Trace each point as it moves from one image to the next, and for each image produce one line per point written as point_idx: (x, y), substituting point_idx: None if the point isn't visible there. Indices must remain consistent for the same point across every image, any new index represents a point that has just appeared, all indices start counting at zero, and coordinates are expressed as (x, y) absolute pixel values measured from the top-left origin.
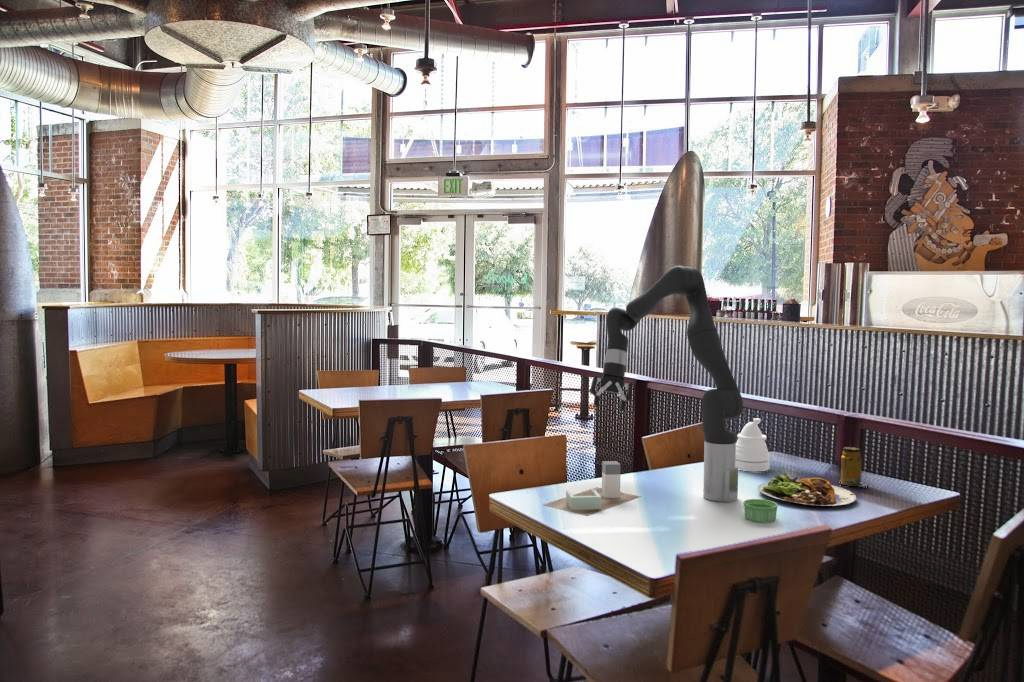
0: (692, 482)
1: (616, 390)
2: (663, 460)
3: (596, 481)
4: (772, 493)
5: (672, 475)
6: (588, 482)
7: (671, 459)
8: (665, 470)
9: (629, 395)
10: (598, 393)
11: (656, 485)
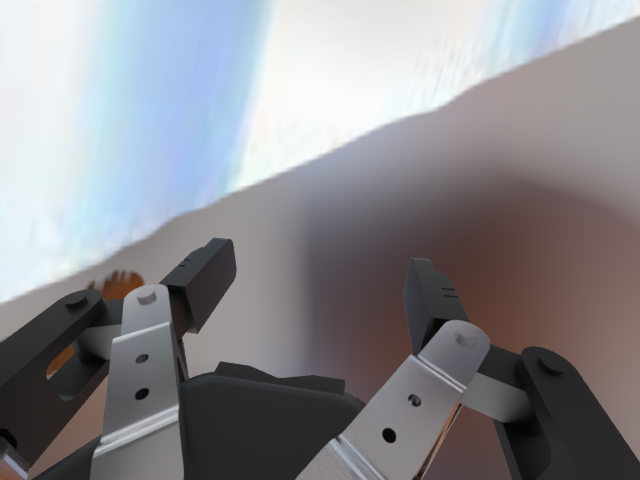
0: (71, 52)
1: (204, 388)
2: None
3: (366, 108)
4: None
5: (120, 155)
6: (392, 98)
7: None
8: (130, 220)
9: (53, 325)
10: (462, 341)
11: (198, 29)
